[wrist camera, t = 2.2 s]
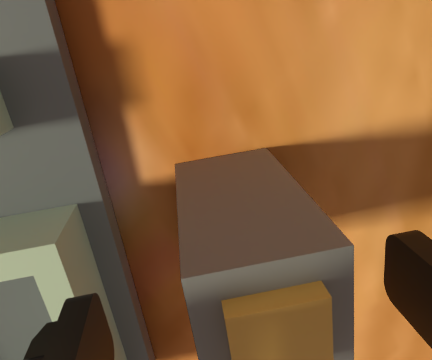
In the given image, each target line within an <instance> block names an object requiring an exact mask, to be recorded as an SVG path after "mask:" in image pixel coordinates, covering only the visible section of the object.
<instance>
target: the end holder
mask: <svg viewBox="0 0 432 360" xmlns="http://www.w3.org/2000/svg"><path fill="white" fill-rule="evenodd" d="M29 276H34V279H35V281H36V283H37V286H38V288H39V291H40V293H41V296H42V298H43V301H44V303H45V306H46V308H47V311H48V313H49V316H50V318H51V320H52V322H54V321H57V320H58V317H59V315H60V312H61V309H62V307H63V304H64V302H65V300H66V299H67V298H72V297H77V296H82V295H87V294H92V293H97V294H98V295H99V297H100V300H101V303H102V306H103V309H104V312H105V315H106V318H107V322H108V325H109V328H110V331H111V334H112V338H113V343H114V360H127V358H126V355H125V352H124V349H123V346H122V342H121V339H120V336H119V333H118V330H117V327H116V324H115V321H114V318H113V314H112V311H111V308H110V305H109V302H108V299H107V296H106V293H105V290H104V286H103V283H102V280H101V277H100V274H99V271H98V268H97V265H96V262H95V258H94V255H93V252H92V249H91V246H90V243H89V240H88V237H87V234H86V230H85V227H84V224H83V221H82V218H81V215H80V212H79V209H78V206H77V204H73V205H68V206H62V207H57V208H51V209H46V210H40V211H35V212H29V213H24V214H18V215H12V216H7V217H1V218H0V282H3V281H8V280H13V279H18V278H24V277H29Z"/></svg>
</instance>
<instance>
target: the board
mask: <svg viewBox="0 0 432 360" xmlns="http://www.w3.org/2000/svg"><path fill="white" fill-rule="evenodd" d="M73 204H77V206H78V209H79V212H80V215H81V218H82V221H83V224H84V227H85V230H86V234H87V237H88V240H89V243H90V246H91V249H92V252H93V255H94V258H95V262H96V265H97V268H98V271H99V274H100V277H101V280H102V283H103V286H104V290H105V293H106V296H107V299H108V302H109V305H110V308H111V311H112V314H113V318H114V321H115V324H116V327H117V330H118V333H119V336H120V339H121V342H122V346H123V349H124V352H125V355H126V358H127V360H156V359H155V356H154V352H153V349H152V345H151V342H150V338H149V335H148V331H147V327H146V324H145V320H144V317H143V313H142V310H141V306H140V303H139V299H138V295H137V292H136V288H135V285H134V281H133V278H132V274H131V271H130V267H129V263H128V260H127V256H126V253H125V249H124V246H123V242H122V239H121V235H120V231H119V228H118V224H117V221H116V217H115V214H114V210H113V207H112V203H111V199H110V196H109V192H108V189H107V185H106V182H105V178H104V175H103V171H102V167H101V164H100V160H99V157H98V153H97V150H96V146H95V143H94V139H93V135H92V132H91V128H90V125H89V121H88V118H87V114H86V111H85V107H84V103H83V100H82V96H81V93H80V89H79V86H78V82H77V79H76V75H75V71H74V68H73V64H72V61H71V57H70V54H69V50H68V47H67V43H66V39H65V36H64V32H63V29H62V25H61V22H60V18H59V15H58V11H57V7H56V4H55V0H0V218H1V217H7V216H12V215H18V214H24V213H29V212H35V211H40V210H46V209H51V208H57V207H62V206H68V205H73ZM49 322H52V320H51V318H50V316H49V313H48V311H47V308H46V306H45V303H44V301H43V298H42V296H41V293H40V291H39V288H38V286H37V283H36V281H35V279H34V276H29V277H24V278H18V279H13V280H8V281H3V282H0V360H23V359H24V357H25V354H26V352H27V350H28V347H29V345H30V343H31V340H32V339H33V338H34V337H35V336H36V335H37V334H38V332H39V331H40V330H41V329H42V328H43V327H44V326H45V324H46V323H49Z"/></svg>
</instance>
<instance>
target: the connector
mask: <svg viewBox="0 0 432 360" xmlns="http://www.w3.org/2000/svg"><path fill="white" fill-rule="evenodd" d="M175 177H176V196H177V216H178V235H179V254H180V273H181V282H182V287H183V291H184V296H185V301H186V305H187V310H188V314H189V319H190V323H191V328H192V332H193V337H194V341H195V346H196V350H197V355H198V359H199V360H354V245H353V244H352V243H351V242H350V241H349V239H348V238H347V237H346V236H345V235H344V234H343V233H342V232H341V230H340V229H339V228H338V227H337V226H336V225H335V224H334V223H333V222H332V220H331V219H330V218H329V217H328V216H327V215H326V214H325V213H324V212H323V210H322V209H321V208H320V207H319V206H318V205H317V204H316V203H315V201H314V200H313V199H312V198H311V197H310V196H309V195H308V194H307V193H306V191H305V190H304V189H303V188H302V187H301V186H300V185H299V184H298V183H297V181H296V180H295V179H294V178H293V177H292V176H291V175H290V174H289V172H288V171H287V170H286V169H285V168H284V167H283V166H282V165H281V164H280V162H279V161H278V160H277V159H276V158H275V157H274V156H273V155H272V154H271V152H270V151H269V150H268V149H267V148H263V149H257V150H251V151H246V152H240V153H234V154H229V155H223V156H217V157H212V158H206V159H201V160H195V161H189V162H184V163H178V164H175Z"/></svg>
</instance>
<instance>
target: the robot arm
mask: <svg viewBox="0 0 432 360" xmlns="http://www.w3.org/2000/svg"><path fill="white" fill-rule="evenodd" d="M384 286H385V290H386V293H387V295H388V297H389V299H390V301H391V302H392V303H393V305H394V306H395V307H396V308H397V309H398V310H399V312H400V313H401V314H402V315H403V316H404V317H405V318H406V320H407V321H408V322H409V323H410V324H411V325H412V327H413V328H414V329H415V330H416V331H417V332H418V333H419V335H420V336H421V337H422V338H423V339H424V340H425V341H426V343H427V344H428V345H429V346H430V347H431V348H432V240H431V239H430V238H429V237H427V236H426V235H425V234H423V233H422V232H420V231H418V230H413V231H408V232H403V233H398V234H393V235H389V236H388V237H387V239H386V247H385V268H384ZM23 360H114V343H113V338H112V334H111V331H110V328H109V325H108V322H107V318H106V315H105V312H104V309H103V306H102V303H101V300H100V297H99V295H98V294H97V293H92V294H87V295H82V296H77V297H72V298H67V299H66V300H65V302H64V304H63V307H62V309H61V312H60V315H59V317H58V320H57V321H54V322H49V323H46V324H45V326H44V327H43V328H42V329H41V330H40V331H39V332H38V334H37V335H36V336H35V337H34V338H33V339H32V340H31V343H30V345H29V347H28V350H27V352H26V354H25V357H24V359H23Z"/></svg>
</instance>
